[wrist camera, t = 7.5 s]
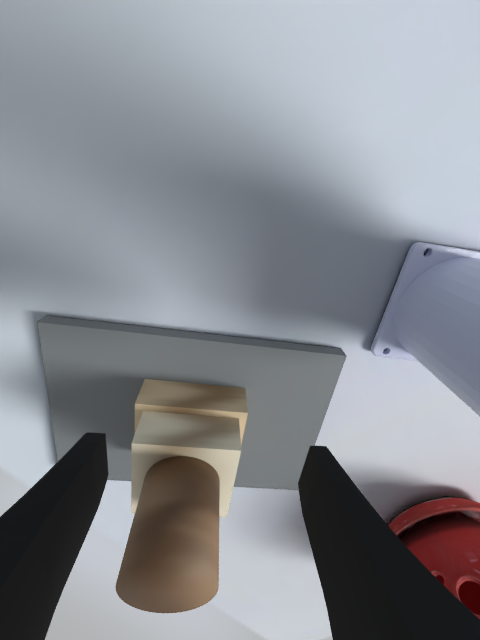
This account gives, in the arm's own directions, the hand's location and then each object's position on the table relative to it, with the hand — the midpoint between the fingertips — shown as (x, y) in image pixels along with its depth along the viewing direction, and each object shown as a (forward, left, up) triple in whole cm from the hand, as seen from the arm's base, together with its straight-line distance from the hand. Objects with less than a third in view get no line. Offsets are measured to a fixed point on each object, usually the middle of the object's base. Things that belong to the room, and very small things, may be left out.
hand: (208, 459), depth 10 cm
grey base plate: (+1, +7, -10) cm, 13 cm away
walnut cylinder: (+1, +7, -4) cm, 9 cm away
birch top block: (+1, +7, -7) cm, 10 cm away
